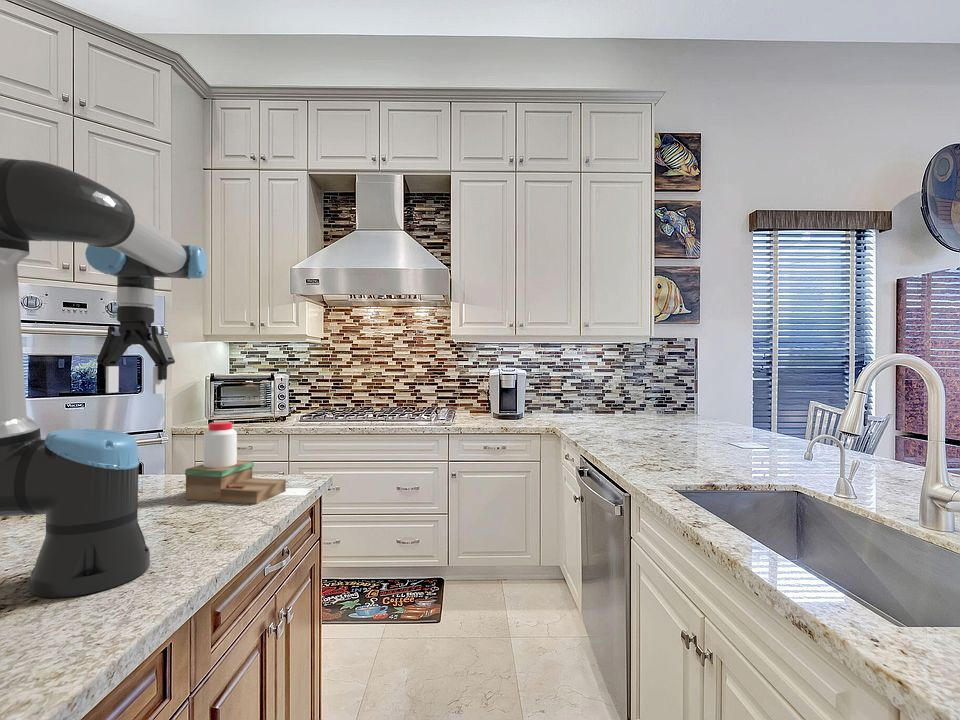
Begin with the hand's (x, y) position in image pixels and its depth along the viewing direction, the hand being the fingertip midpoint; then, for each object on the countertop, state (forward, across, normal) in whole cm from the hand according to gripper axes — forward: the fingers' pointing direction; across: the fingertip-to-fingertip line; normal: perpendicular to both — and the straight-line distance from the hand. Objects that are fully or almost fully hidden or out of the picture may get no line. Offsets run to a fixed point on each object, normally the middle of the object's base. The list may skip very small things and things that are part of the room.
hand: (135, 393), depth 120 cm
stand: (+27, -20, -11) cm, 35 cm away
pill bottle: (+19, -15, -11) cm, 27 cm away
